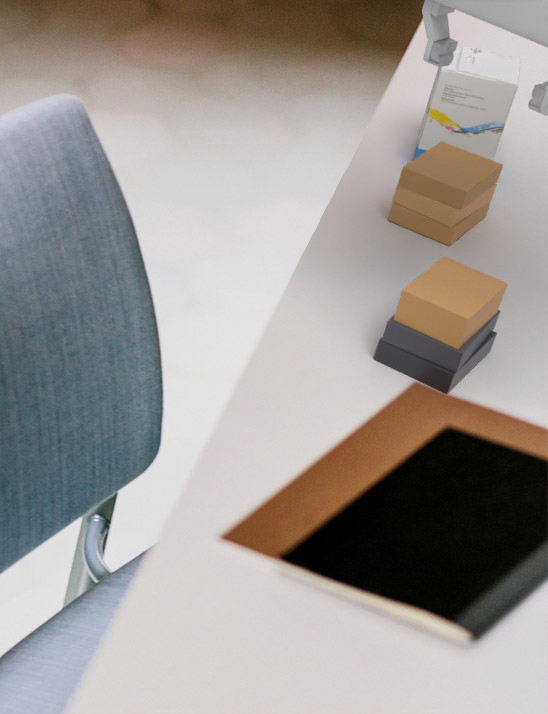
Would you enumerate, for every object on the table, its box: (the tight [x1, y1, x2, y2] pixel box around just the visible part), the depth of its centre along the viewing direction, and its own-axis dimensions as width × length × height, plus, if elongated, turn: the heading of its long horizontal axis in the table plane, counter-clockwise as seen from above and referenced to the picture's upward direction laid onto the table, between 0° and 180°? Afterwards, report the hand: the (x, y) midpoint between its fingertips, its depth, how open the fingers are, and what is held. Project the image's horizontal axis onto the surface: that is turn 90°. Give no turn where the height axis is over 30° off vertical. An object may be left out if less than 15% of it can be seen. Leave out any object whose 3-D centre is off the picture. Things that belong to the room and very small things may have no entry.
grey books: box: [373, 309, 501, 395], centre depth 102 cm, size 7×9×4 cm
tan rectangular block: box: [393, 255, 509, 349], centre depth 100 cm, size 6×8×3 cm
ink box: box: [412, 45, 522, 161], centre depth 131 cm, size 9×8×12 cm
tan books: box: [387, 141, 504, 247], centre depth 122 cm, size 7×9×6 cm
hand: (487, 86), depth 87 cm, fingers open, 8 cm apart
